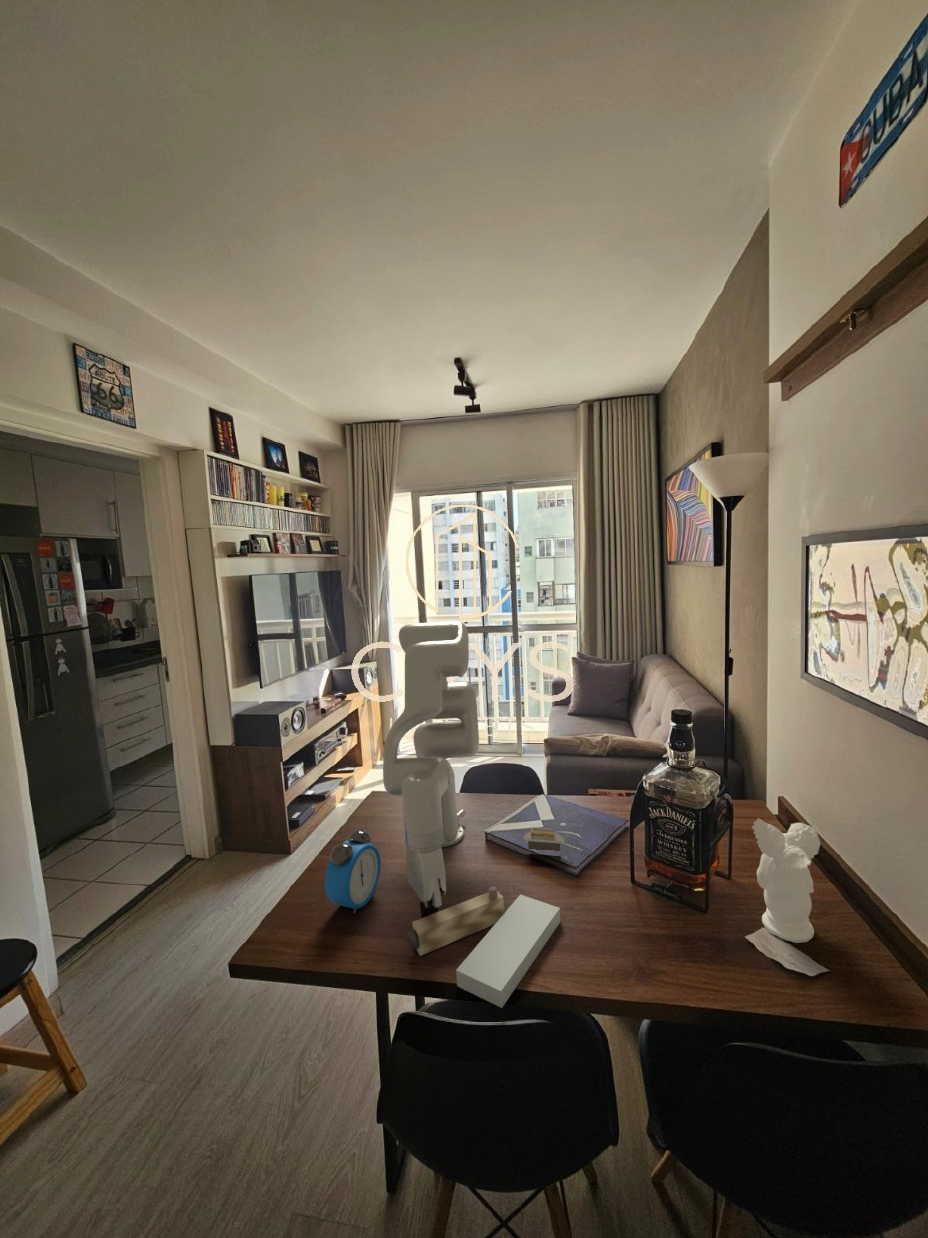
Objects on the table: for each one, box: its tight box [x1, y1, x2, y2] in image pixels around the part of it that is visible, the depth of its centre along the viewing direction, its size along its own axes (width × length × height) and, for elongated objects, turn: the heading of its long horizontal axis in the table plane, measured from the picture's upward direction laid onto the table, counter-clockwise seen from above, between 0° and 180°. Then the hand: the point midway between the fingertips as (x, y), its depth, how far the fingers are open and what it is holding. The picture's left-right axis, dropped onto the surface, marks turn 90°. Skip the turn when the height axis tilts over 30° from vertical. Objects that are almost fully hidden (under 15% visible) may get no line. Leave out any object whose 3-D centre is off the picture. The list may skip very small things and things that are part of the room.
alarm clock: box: [324, 828, 381, 914], centre depth 115 cm, size 13×6×15 cm, turn 156°
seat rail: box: [455, 894, 561, 1009], centre depth 98 cm, size 24×9×3 cm, turn 146°
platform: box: [523, 827, 565, 852], centre depth 130 cm, size 12×18×7 cm, turn 76°
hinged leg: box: [406, 886, 505, 957], centre depth 103 cm, size 20×3×6 cm, turn 118°
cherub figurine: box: [752, 817, 821, 944], centre depth 97 cm, size 12×12×22 cm
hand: (430, 920), depth 104 cm, fingers closed
